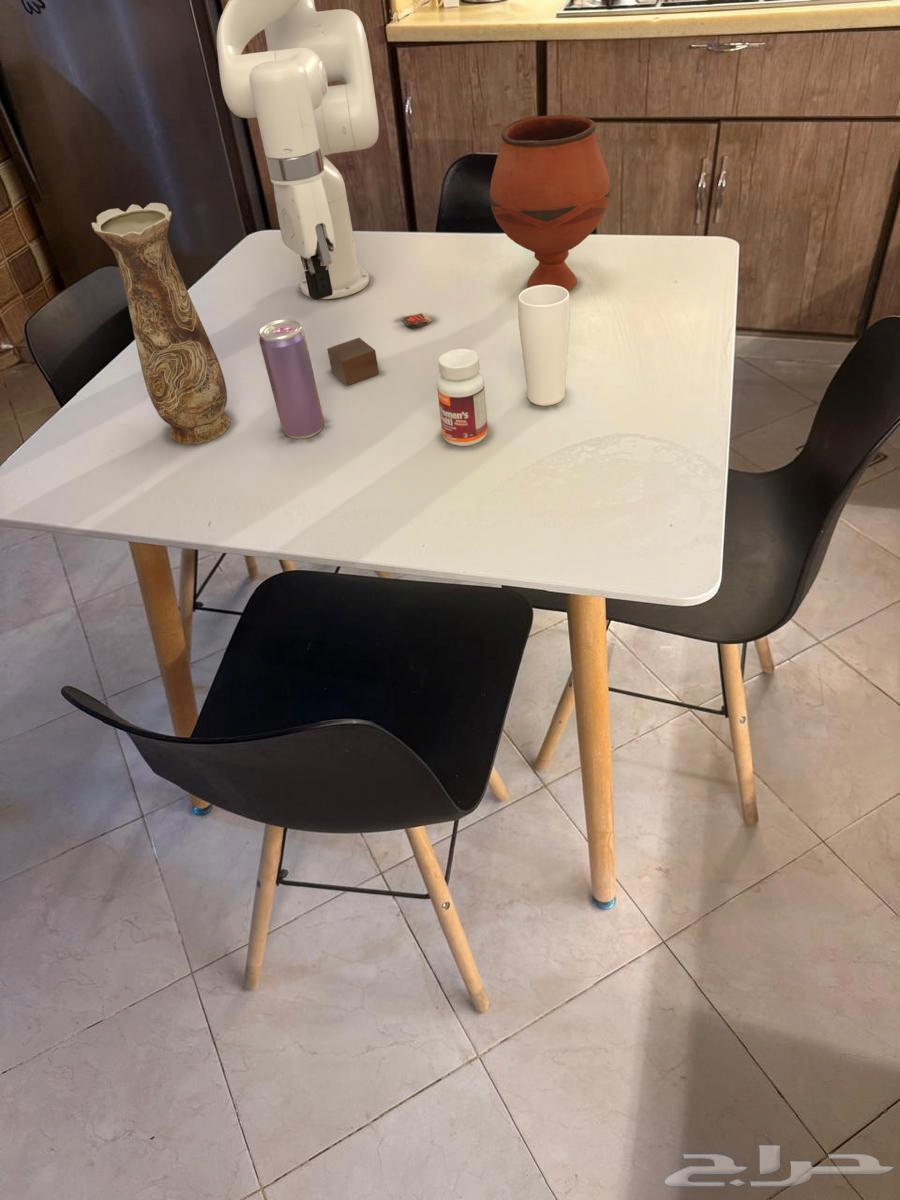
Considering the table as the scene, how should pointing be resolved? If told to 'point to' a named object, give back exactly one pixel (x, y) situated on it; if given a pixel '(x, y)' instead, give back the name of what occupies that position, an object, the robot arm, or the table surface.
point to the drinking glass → (544, 341)
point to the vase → (166, 325)
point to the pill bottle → (461, 398)
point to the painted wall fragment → (416, 320)
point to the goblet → (550, 190)
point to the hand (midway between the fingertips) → (321, 295)
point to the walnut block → (353, 361)
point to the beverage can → (291, 378)
